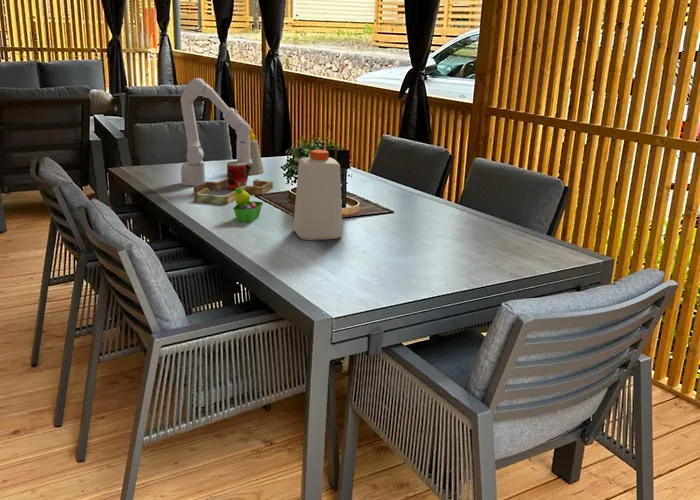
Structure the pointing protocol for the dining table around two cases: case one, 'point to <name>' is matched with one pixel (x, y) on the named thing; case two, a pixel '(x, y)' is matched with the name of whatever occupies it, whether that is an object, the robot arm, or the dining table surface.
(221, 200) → the trap channel
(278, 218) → the dining table surface
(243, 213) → the fruit basket
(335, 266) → the dining table surface
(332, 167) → the plastic bottle
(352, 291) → the dining table surface
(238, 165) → the canned food
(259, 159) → the soap bottle
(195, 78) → the robot arm
